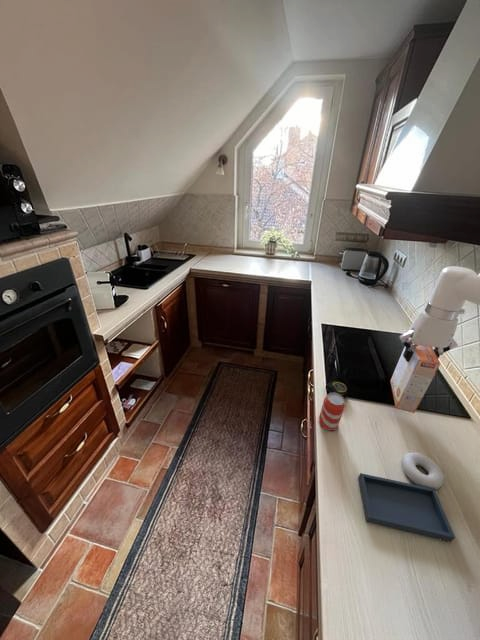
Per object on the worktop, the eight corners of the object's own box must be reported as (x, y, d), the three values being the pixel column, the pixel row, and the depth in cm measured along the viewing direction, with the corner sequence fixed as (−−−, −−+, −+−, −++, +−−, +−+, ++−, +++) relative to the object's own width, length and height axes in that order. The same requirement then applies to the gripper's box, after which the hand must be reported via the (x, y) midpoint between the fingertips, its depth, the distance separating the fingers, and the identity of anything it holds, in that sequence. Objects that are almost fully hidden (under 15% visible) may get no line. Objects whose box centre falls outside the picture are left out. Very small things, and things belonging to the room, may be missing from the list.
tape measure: (323, 389, 99) (325, 382, 98) (337, 385, 102) (339, 378, 100) (335, 402, 94) (337, 395, 92) (349, 397, 96) (352, 390, 94)
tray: (430, 493, 68) (434, 488, 67) (450, 542, 59) (455, 538, 58) (357, 477, 71) (360, 472, 70) (366, 522, 62) (369, 517, 61)
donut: (414, 451, 78) (392, 463, 75) (419, 444, 77) (396, 456, 73) (448, 483, 70) (425, 498, 67) (454, 476, 69) (430, 491, 65)
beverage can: (327, 434, 83) (335, 409, 76) (314, 418, 88) (321, 394, 81) (341, 427, 85) (350, 403, 79) (328, 413, 90) (336, 388, 84)
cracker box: (415, 414, 82) (442, 363, 71) (394, 408, 84) (417, 359, 73) (407, 385, 93) (429, 338, 83) (389, 380, 95) (408, 334, 85)
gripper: (468, 308, 73) (443, 357, 82) (403, 302, 76) (385, 350, 85) (484, 321, 67) (454, 372, 76) (413, 313, 70) (392, 364, 79)
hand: (418, 360), depth 80 cm, fingers closed on cracker box, 6 cm apart
